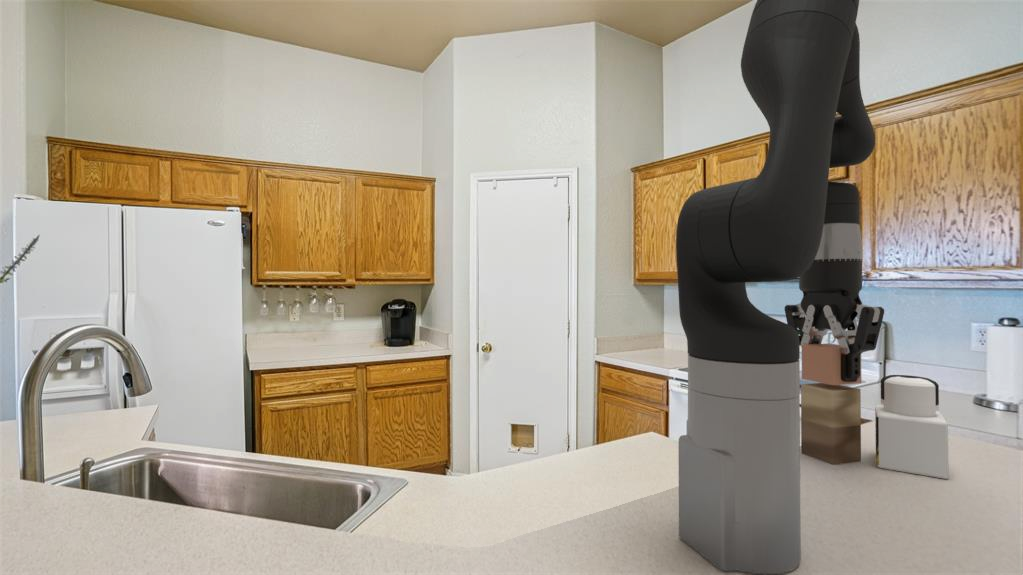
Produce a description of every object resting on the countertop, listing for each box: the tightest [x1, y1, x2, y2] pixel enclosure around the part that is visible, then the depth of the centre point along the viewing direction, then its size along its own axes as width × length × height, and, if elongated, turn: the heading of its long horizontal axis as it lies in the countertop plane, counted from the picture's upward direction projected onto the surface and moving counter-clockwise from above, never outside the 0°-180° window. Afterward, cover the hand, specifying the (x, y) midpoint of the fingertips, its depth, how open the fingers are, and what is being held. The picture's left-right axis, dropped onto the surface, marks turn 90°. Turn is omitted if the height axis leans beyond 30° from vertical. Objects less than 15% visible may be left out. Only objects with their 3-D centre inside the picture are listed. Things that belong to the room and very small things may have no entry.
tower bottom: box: [800, 418, 862, 466], centre depth 69 cm, size 5×5×5 cm
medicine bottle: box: [874, 374, 950, 480], centre depth 65 cm, size 7×7×12 cm
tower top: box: [800, 382, 862, 428], centre depth 69 cm, size 5×5×5 cm
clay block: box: [801, 343, 862, 386], centre depth 69 cm, size 5×5×5 cm
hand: (830, 377), depth 69 cm, fingers closed on clay block, 5 cm apart
